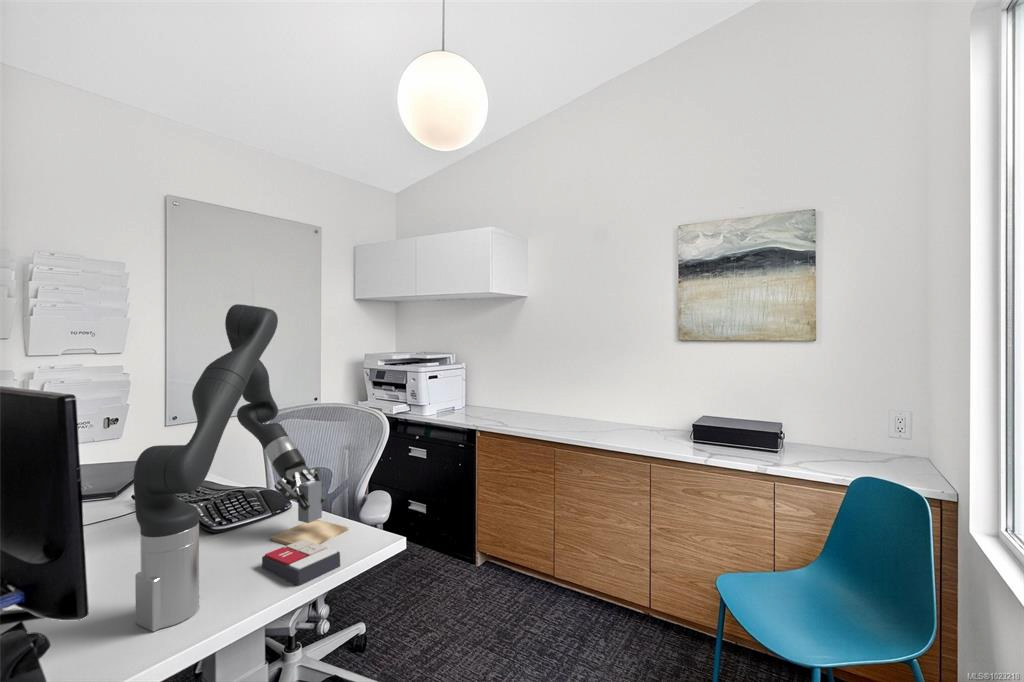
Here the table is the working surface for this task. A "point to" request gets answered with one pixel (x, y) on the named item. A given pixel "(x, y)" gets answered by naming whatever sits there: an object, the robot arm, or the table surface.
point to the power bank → (311, 501)
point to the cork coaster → (310, 532)
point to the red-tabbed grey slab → (301, 561)
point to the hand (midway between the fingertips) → (315, 505)
